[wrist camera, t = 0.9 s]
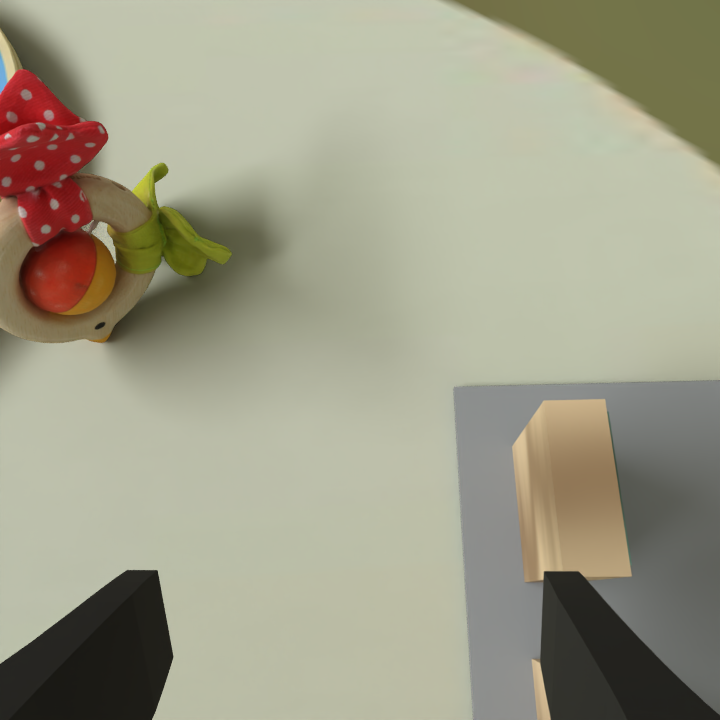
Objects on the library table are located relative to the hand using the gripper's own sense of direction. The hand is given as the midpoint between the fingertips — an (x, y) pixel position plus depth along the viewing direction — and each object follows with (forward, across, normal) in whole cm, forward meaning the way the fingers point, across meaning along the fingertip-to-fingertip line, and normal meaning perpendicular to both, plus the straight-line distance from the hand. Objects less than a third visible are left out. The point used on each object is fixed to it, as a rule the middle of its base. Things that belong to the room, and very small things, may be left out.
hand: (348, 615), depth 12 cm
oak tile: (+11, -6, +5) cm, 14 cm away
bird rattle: (+18, +11, -3) cm, 21 cm away
